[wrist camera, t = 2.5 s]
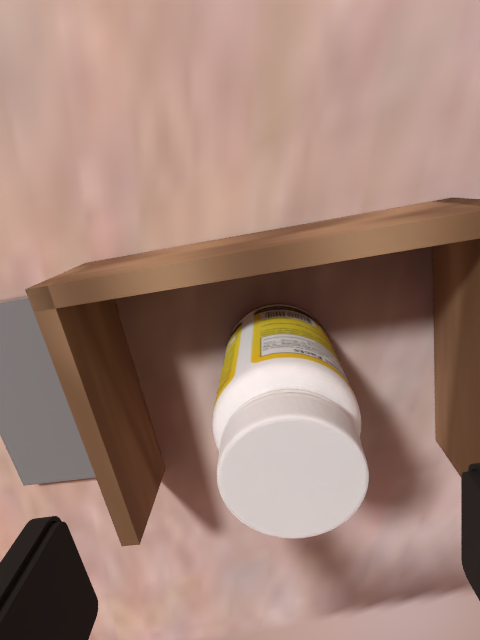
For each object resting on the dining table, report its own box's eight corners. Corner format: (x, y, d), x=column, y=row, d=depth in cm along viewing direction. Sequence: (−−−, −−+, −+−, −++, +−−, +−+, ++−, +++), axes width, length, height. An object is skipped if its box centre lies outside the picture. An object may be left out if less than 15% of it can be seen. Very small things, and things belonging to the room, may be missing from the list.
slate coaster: (73, 288, 17) (67, 291, 17) (132, 465, 20) (128, 473, 20) (-46, 308, 18) (-56, 312, 17) (29, 477, 21) (23, 485, 21)
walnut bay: (453, 197, 15) (527, 202, 11) (452, 438, 19) (508, 511, 15) (84, 263, 17) (25, 289, 13) (150, 471, 20) (121, 546, 16)
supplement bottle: (262, 410, 19) (262, 573, 11) (207, 337, 18) (162, 459, 10) (348, 363, 18) (417, 507, 10) (295, 281, 17) (325, 369, 9)
